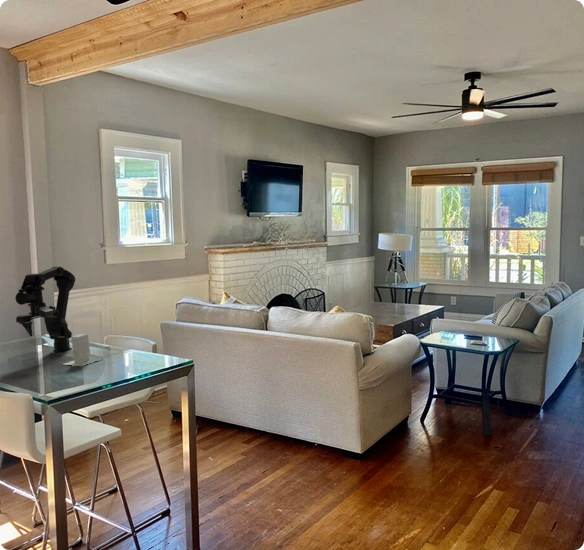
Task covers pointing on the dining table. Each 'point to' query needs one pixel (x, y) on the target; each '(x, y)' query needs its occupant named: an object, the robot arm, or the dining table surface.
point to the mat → (74, 363)
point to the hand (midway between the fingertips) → (39, 334)
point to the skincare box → (81, 348)
